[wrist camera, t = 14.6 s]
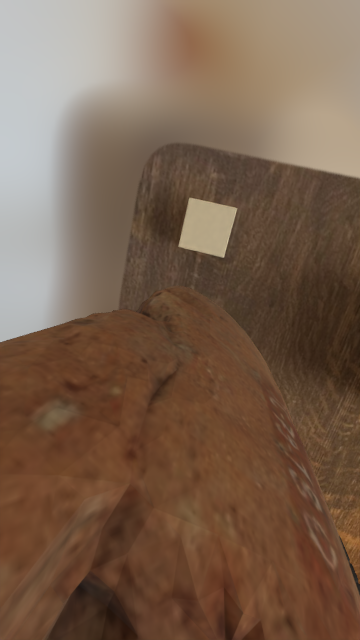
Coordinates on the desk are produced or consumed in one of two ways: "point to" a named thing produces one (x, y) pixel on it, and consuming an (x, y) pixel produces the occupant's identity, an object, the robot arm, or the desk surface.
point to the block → (160, 487)
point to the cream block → (207, 227)
